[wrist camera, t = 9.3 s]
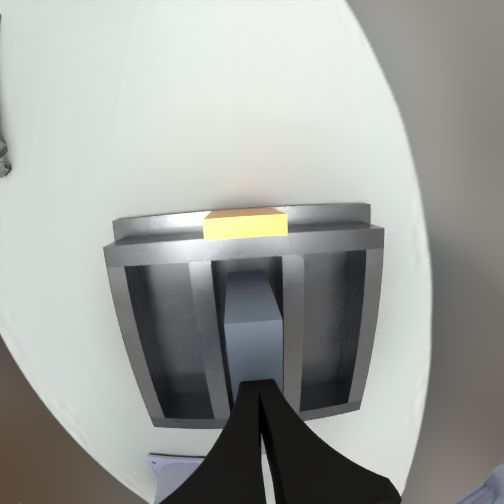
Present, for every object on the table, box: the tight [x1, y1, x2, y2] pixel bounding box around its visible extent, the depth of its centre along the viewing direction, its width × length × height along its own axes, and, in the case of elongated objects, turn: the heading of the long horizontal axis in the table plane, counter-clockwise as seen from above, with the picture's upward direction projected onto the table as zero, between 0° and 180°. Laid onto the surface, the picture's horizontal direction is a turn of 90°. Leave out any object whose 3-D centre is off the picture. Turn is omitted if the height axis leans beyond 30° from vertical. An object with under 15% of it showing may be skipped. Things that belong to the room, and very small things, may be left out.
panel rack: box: [103, 204, 384, 429], centre depth 14 cm, size 14×15×5 cm
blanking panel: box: [224, 270, 283, 454], centre depth 13 cm, size 8×2×6 cm, turn 3°
